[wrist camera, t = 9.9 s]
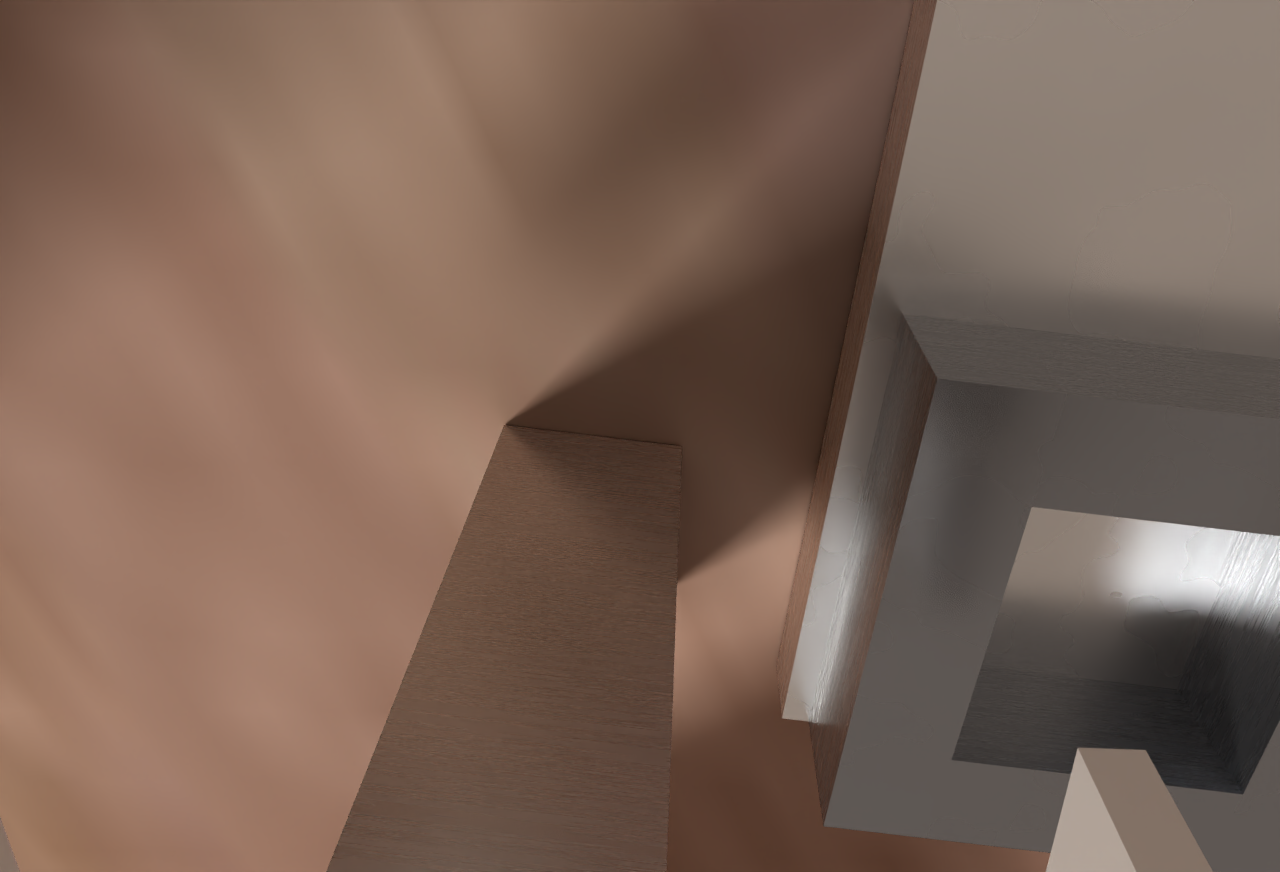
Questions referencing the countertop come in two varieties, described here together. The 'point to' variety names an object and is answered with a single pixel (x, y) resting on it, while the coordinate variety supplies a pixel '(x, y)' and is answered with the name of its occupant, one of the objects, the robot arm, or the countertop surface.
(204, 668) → the countertop surface
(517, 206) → the countertop surface
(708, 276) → the countertop surface
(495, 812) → the pin
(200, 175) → the countertop surface
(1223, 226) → the dock
